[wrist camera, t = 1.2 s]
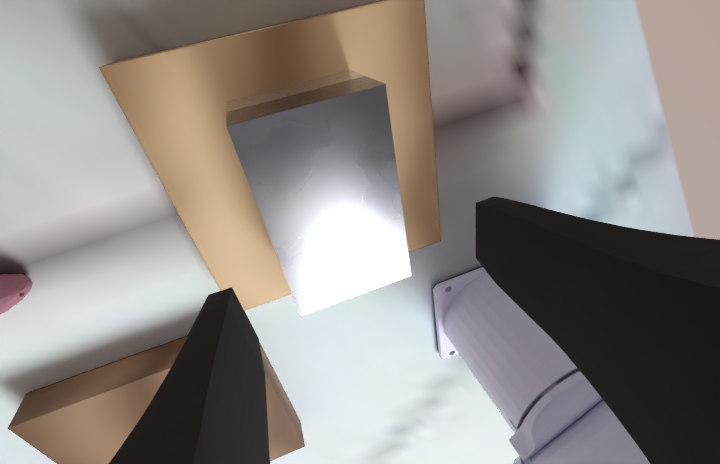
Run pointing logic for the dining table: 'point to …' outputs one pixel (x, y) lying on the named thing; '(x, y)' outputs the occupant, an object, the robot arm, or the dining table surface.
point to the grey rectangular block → (325, 184)
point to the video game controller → (13, 290)
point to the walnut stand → (125, 409)
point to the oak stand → (259, 74)
